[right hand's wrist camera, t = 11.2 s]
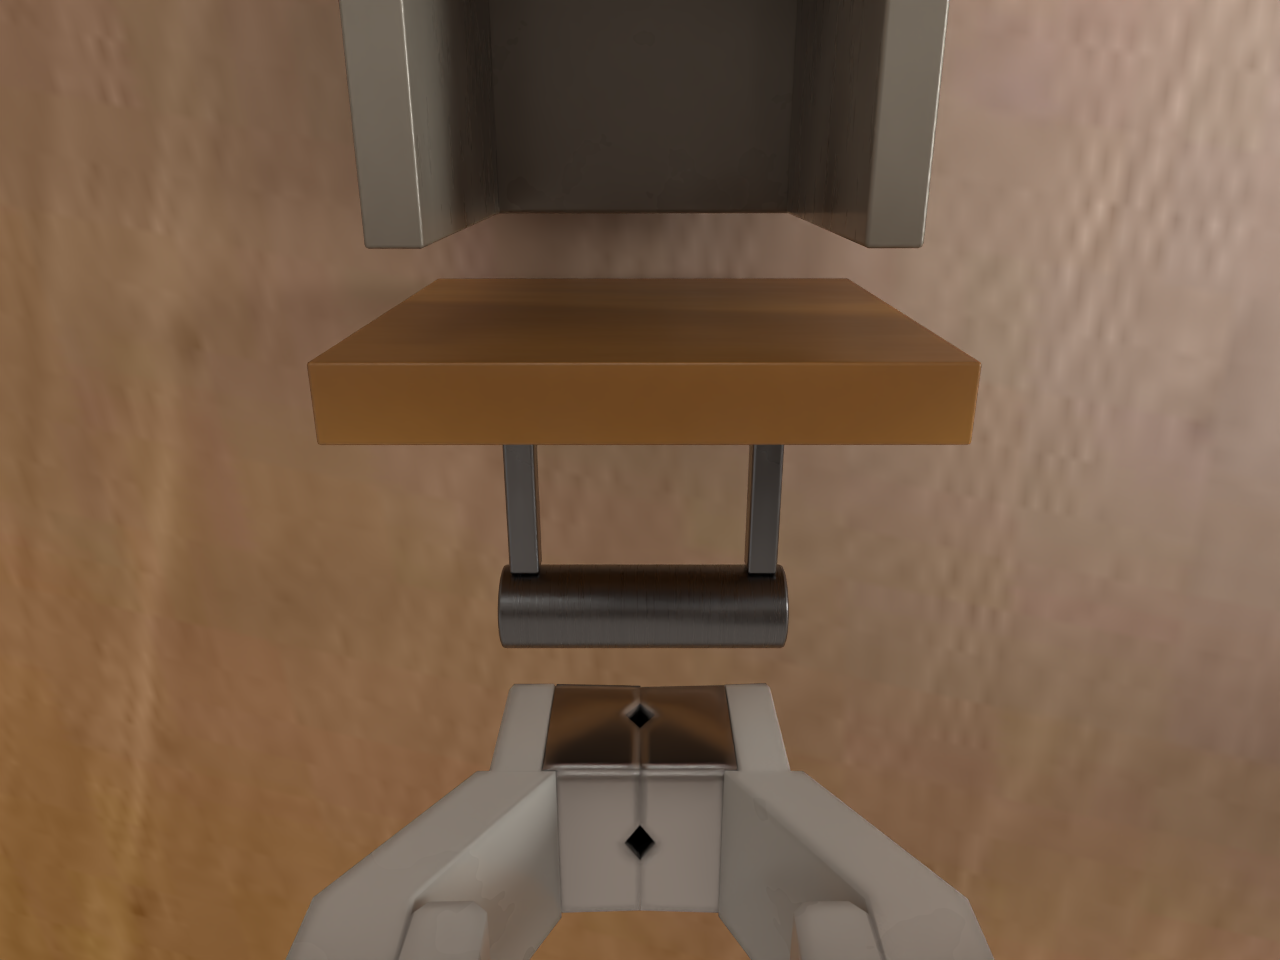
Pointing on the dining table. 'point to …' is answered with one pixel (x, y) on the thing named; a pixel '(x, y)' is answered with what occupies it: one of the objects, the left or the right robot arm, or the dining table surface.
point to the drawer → (643, 308)
